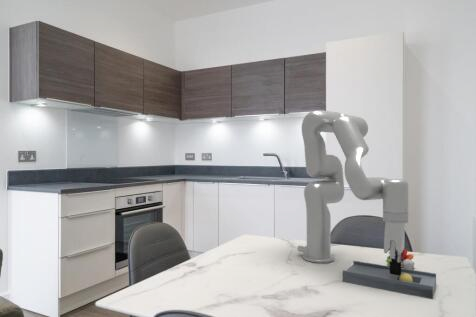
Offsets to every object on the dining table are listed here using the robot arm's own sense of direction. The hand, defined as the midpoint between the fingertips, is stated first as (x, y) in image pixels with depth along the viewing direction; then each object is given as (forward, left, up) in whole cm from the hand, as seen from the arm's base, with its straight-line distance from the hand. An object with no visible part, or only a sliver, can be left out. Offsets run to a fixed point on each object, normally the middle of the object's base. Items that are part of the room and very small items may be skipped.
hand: (395, 273), depth 112 cm
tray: (-2, 0, -3) cm, 4 cm away
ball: (+3, 0, -1) cm, 3 cm away
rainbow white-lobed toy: (-2, +20, -4) cm, 21 cm away
